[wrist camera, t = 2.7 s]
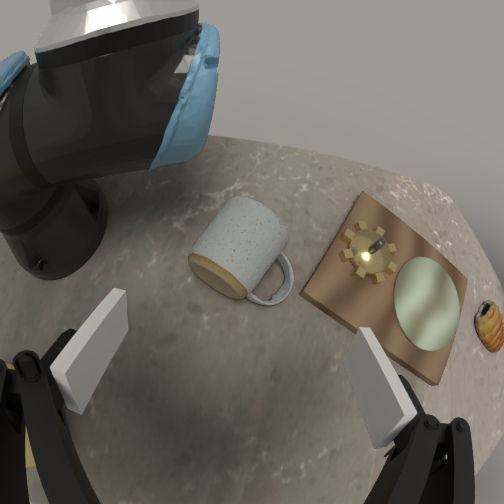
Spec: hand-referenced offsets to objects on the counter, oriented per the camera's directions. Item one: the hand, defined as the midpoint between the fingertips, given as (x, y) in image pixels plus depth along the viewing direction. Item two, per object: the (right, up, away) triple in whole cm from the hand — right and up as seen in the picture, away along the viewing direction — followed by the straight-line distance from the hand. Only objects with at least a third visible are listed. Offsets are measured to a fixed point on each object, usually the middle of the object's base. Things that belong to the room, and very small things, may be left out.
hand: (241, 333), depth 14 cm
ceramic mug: (0, +3, +17) cm, 17 cm away
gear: (+15, +4, +18) cm, 23 cm away
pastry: (+41, -9, +18) cm, 45 cm away
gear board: (+20, -1, +18) cm, 27 cm away
